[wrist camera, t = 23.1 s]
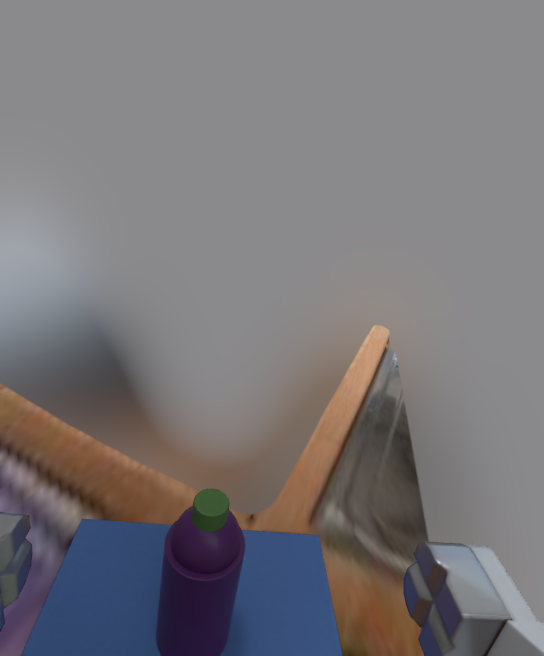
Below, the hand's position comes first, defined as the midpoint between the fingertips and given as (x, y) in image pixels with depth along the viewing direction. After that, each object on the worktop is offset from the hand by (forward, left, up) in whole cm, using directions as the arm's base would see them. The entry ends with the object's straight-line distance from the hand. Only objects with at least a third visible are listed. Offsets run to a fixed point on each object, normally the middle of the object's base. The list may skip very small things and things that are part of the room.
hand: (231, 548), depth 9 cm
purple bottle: (0, -13, -25) cm, 28 cm away
